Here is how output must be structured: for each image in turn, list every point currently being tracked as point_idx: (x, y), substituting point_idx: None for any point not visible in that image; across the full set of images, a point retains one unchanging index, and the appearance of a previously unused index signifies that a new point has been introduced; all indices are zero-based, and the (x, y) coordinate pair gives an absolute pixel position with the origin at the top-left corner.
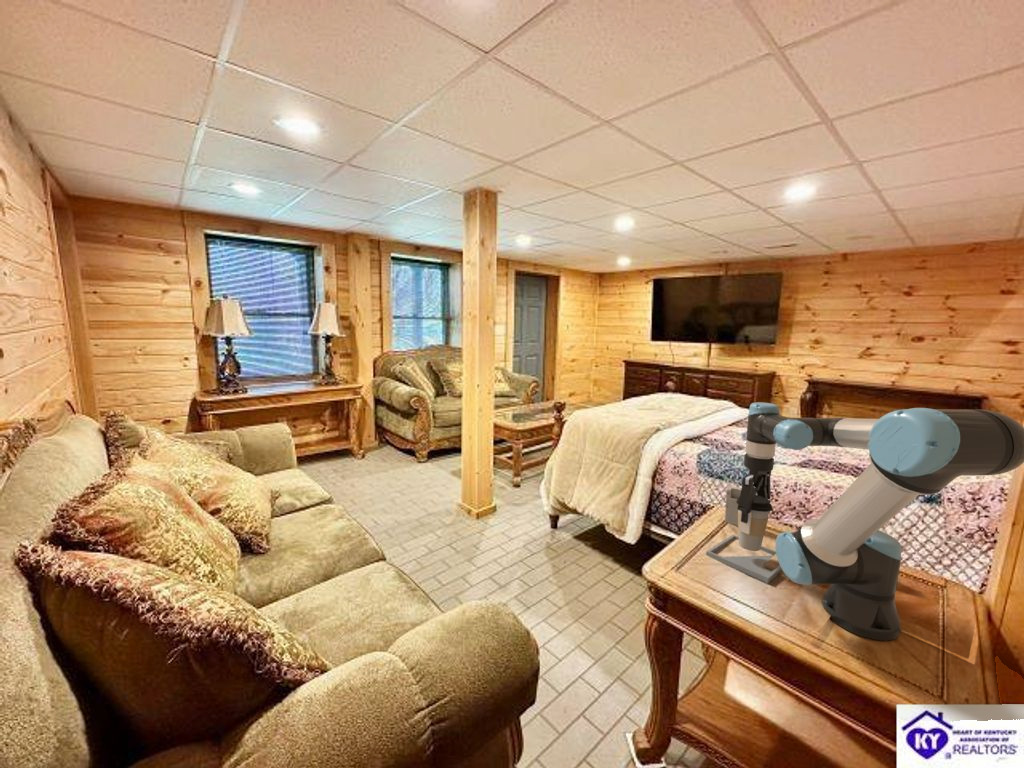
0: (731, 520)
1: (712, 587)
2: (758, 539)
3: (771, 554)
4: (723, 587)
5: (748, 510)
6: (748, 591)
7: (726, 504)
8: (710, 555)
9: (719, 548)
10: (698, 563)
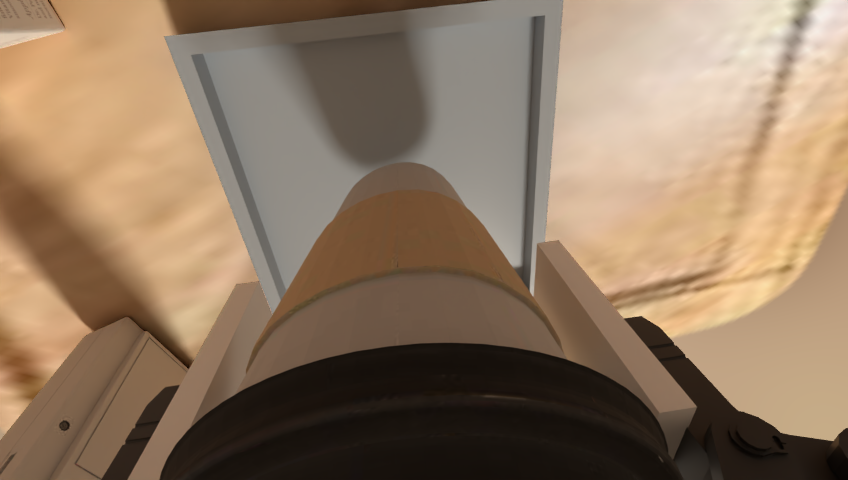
0: None
1: (754, 135)
2: (442, 191)
3: (236, 150)
4: (725, 110)
5: (791, 457)
6: (688, 21)
7: None
8: None
9: None
10: (604, 266)
